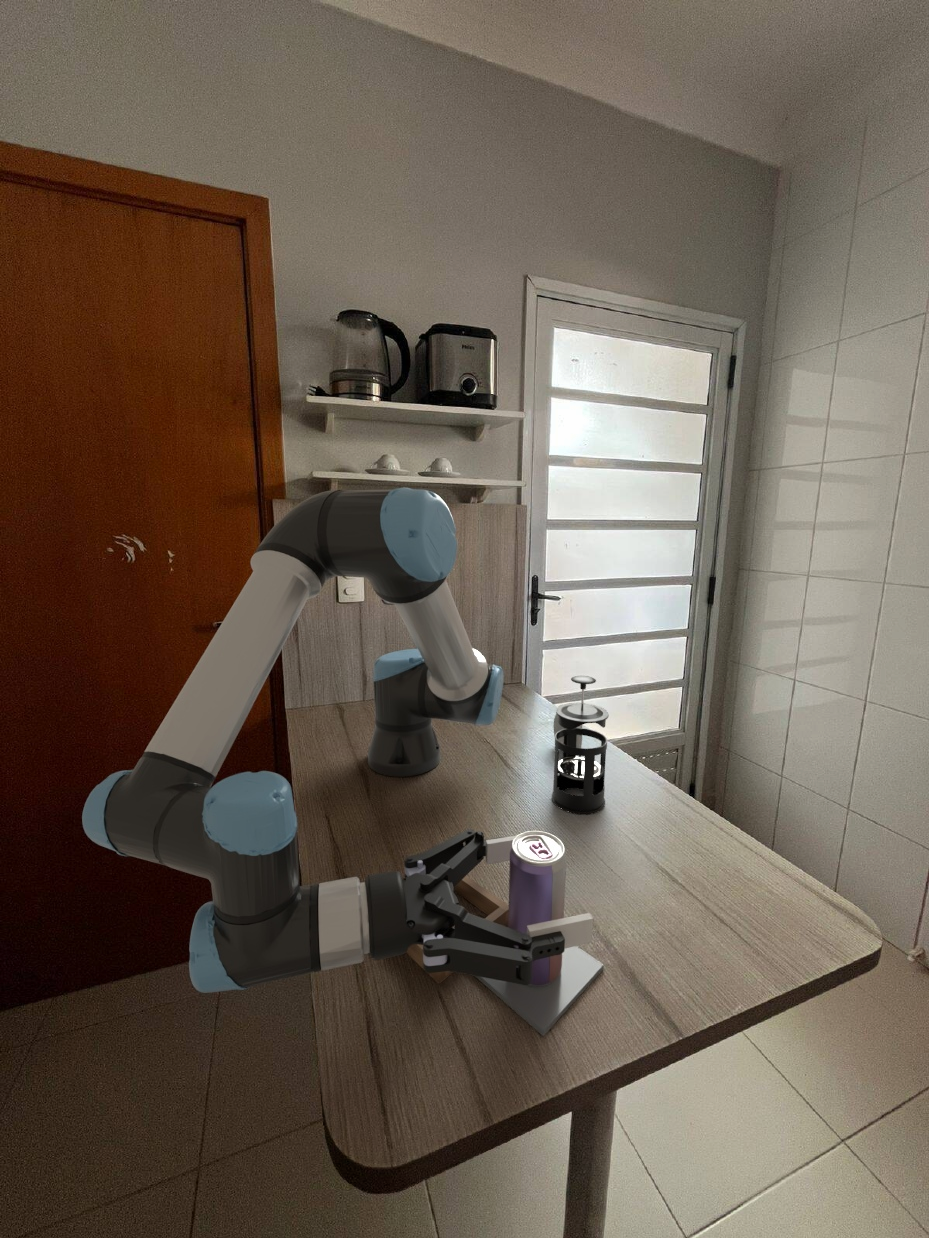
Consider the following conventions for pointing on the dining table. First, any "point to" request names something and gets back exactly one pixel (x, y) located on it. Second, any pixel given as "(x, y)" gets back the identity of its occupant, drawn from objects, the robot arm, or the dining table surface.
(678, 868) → the dining table surface
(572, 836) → the dining table surface
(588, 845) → the dining table surface
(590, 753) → the french press
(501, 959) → the robot arm
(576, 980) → the slate coaster
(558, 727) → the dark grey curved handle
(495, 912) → the walnut holder
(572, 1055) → the dining table surface
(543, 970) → the beverage can
